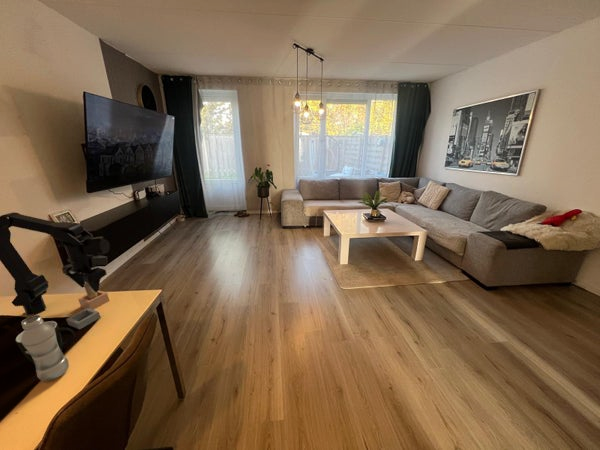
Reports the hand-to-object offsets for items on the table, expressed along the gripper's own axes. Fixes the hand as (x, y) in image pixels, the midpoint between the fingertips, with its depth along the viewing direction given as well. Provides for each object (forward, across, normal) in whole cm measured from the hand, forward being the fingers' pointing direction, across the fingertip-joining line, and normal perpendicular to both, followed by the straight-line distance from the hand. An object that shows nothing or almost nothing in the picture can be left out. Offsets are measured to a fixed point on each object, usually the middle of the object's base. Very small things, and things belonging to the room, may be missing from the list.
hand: (90, 289), depth 99 cm
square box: (+8, 0, 0) cm, 8 cm away
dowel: (+7, 0, 0) cm, 7 cm away
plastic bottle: (+8, -26, +24) cm, 36 cm away
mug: (+8, -16, +20) cm, 27 cm away
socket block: (+8, -8, +8) cm, 14 cm away
